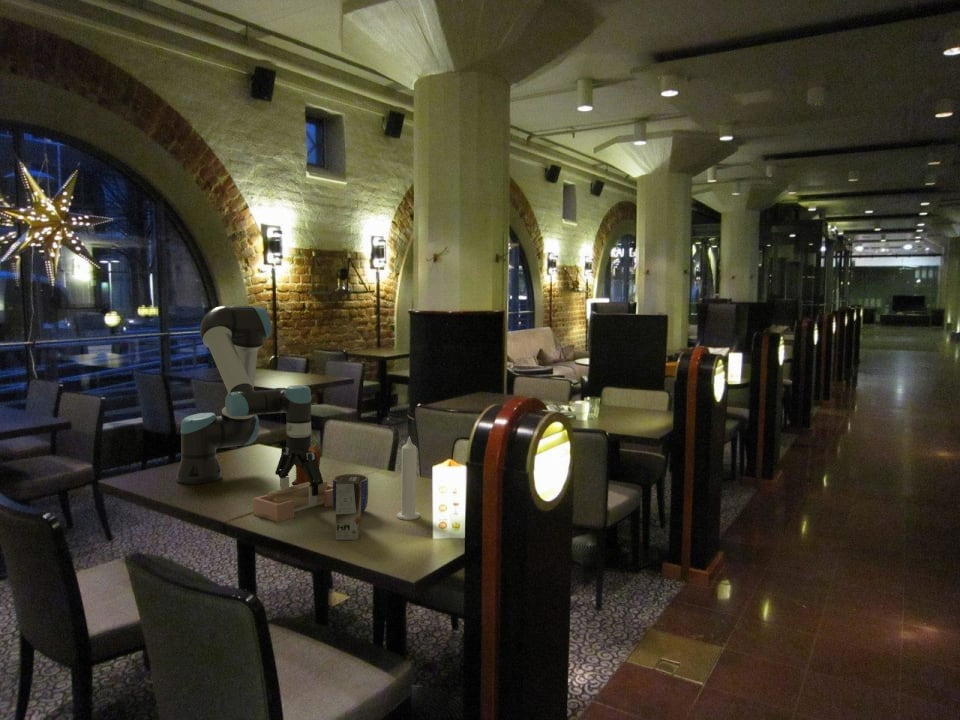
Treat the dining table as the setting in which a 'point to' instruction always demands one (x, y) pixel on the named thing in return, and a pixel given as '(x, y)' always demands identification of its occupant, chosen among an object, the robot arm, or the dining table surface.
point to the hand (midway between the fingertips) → (298, 501)
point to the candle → (408, 482)
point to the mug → (300, 472)
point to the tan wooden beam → (297, 494)
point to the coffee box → (348, 507)
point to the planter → (363, 490)
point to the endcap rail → (285, 506)
